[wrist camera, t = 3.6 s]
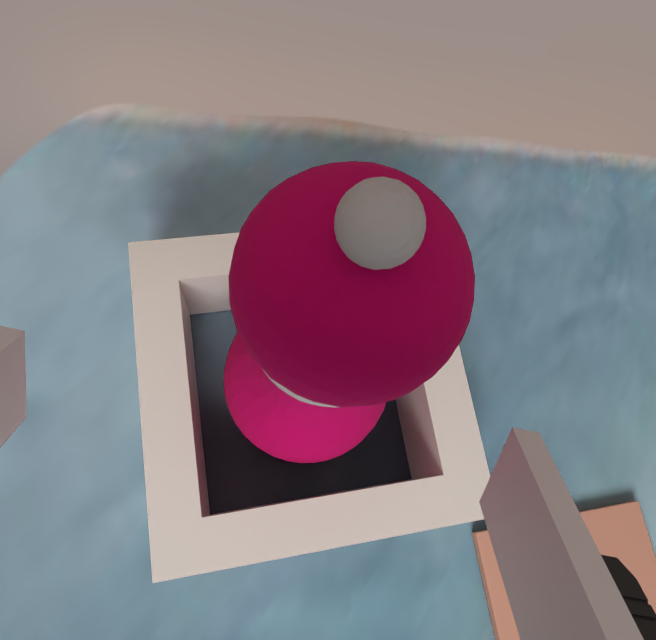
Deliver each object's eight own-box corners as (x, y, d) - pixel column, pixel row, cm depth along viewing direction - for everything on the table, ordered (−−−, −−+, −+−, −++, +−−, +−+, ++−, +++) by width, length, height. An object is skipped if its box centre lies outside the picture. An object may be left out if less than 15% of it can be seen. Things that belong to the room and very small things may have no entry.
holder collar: (401, 257, 32) (427, 215, 27) (457, 513, 28) (499, 516, 24) (147, 283, 30) (128, 242, 25) (170, 567, 26) (152, 583, 21)
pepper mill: (240, 482, 27) (221, 446, 8) (216, 341, 29) (155, 53, 10) (382, 451, 29) (638, 357, 10) (350, 317, 31) (512, 25, 12)
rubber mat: (632, 501, 30) (638, 501, 29) (690, 695, 27) (698, 698, 27) (471, 532, 28) (475, 533, 28) (518, 741, 26) (523, 746, 25)
